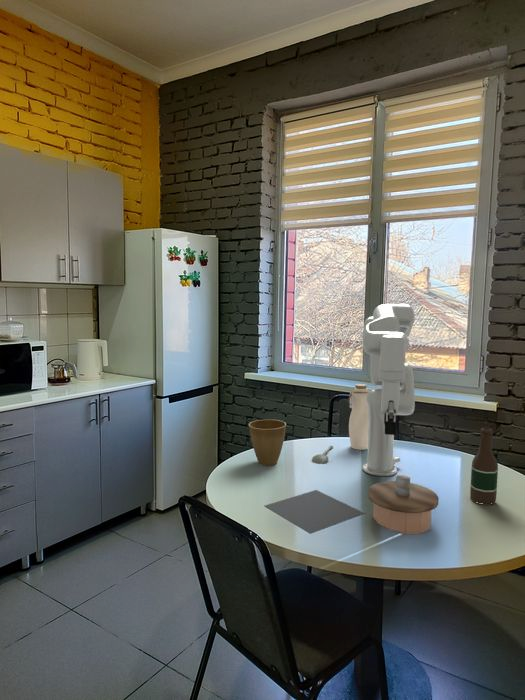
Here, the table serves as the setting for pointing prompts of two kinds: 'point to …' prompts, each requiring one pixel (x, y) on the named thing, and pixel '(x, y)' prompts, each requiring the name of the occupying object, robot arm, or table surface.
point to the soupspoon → (321, 457)
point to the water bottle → (358, 417)
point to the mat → (313, 511)
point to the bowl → (403, 520)
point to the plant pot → (267, 440)
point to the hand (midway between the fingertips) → (389, 429)
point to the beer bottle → (484, 471)
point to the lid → (403, 496)
